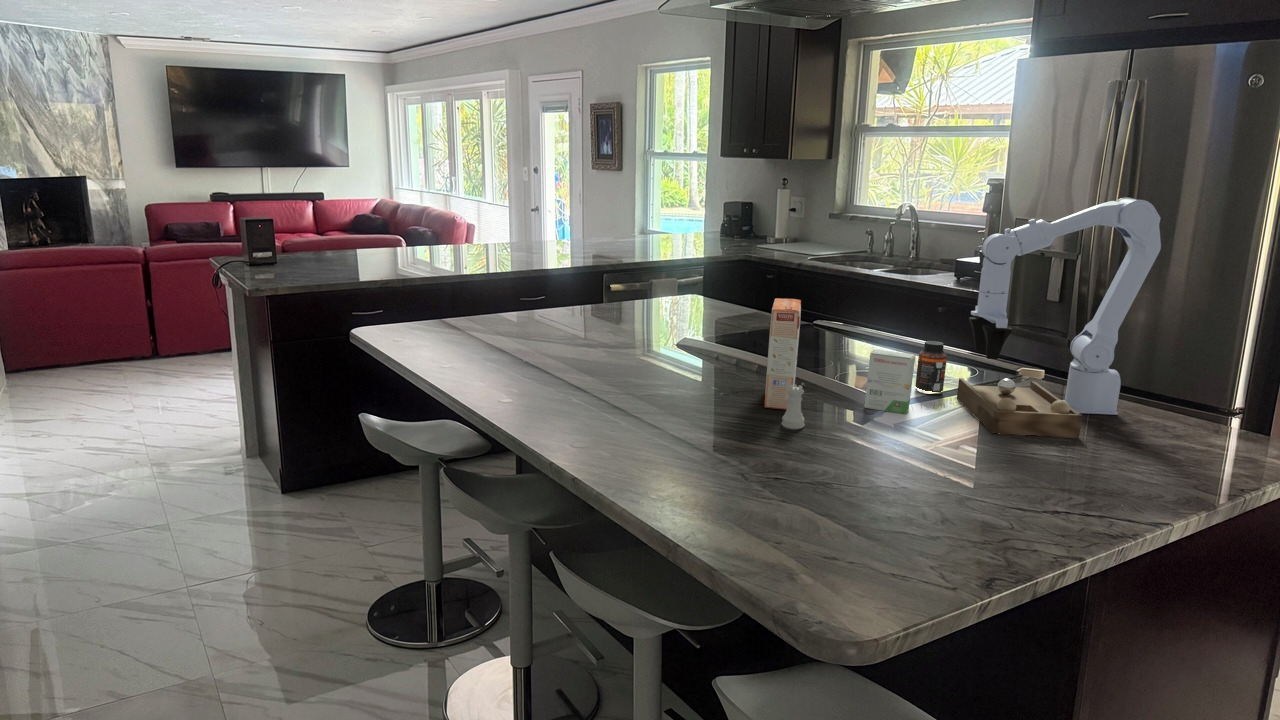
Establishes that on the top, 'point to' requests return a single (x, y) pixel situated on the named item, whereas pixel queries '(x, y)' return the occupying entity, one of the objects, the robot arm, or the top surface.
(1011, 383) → the steel ball
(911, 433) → the top surface
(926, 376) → the supplement bottle
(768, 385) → the cracker box
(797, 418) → the rook chess piece
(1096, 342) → the robot arm
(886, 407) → the ink box
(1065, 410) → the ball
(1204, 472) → the top surface
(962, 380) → the board
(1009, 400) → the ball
